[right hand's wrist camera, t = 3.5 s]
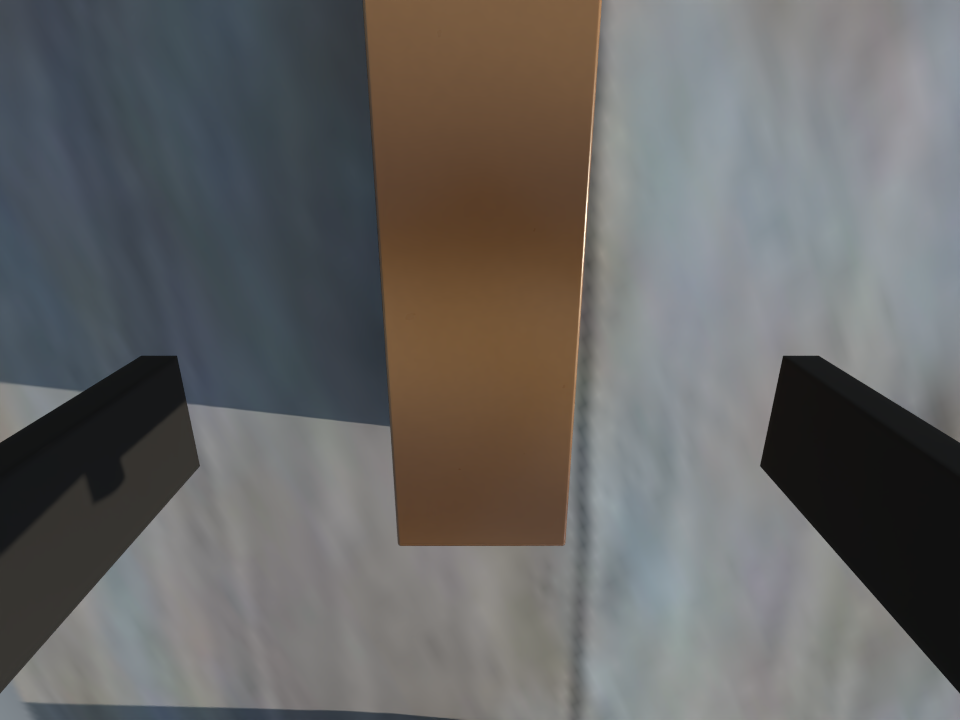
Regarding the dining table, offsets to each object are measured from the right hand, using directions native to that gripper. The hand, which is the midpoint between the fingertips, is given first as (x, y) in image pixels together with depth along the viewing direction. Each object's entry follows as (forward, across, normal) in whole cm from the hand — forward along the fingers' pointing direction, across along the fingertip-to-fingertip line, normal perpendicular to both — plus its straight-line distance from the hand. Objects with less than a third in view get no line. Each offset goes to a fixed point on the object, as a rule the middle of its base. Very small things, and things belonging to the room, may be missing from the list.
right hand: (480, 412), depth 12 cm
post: (+12, 0, -34) cm, 36 cm away
